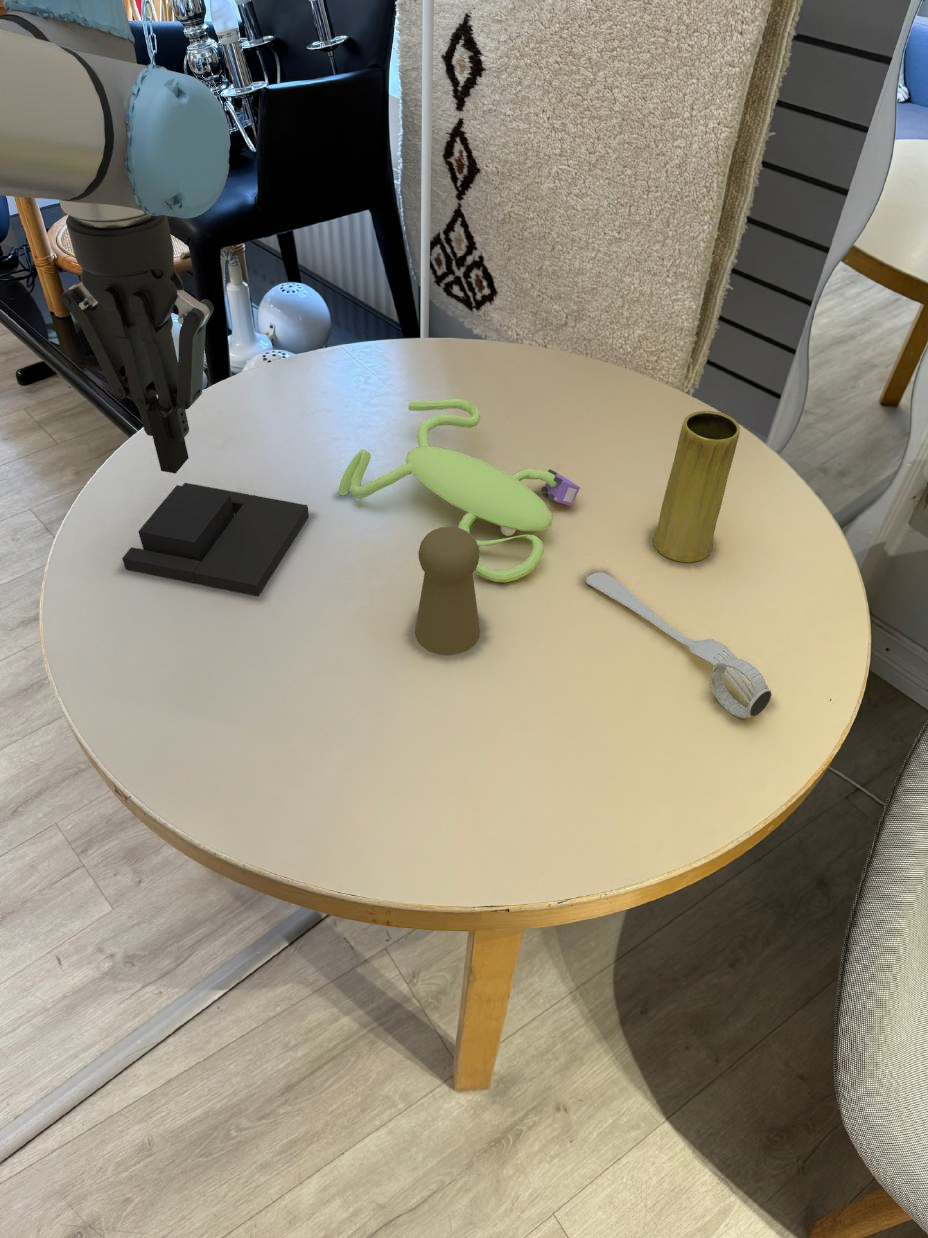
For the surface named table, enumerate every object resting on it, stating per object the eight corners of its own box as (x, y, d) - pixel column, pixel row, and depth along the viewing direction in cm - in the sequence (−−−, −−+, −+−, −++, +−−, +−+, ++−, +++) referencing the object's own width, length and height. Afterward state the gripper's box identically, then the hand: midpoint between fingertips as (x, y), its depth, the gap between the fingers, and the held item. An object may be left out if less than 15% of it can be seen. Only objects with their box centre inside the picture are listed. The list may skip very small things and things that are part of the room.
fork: (599, 589, 92) (600, 567, 90) (770, 698, 79) (776, 674, 77) (579, 601, 90) (580, 579, 89) (750, 713, 77) (755, 689, 76)
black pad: (309, 516, 95) (307, 504, 94) (258, 596, 86) (256, 585, 85) (187, 493, 98) (184, 482, 97) (125, 569, 88) (121, 558, 87)
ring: (742, 732, 76) (758, 693, 72) (699, 695, 79) (711, 655, 75) (765, 717, 77) (781, 677, 74) (721, 681, 80) (735, 641, 77)
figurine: (435, 420, 109) (435, 378, 106) (616, 514, 97) (624, 470, 93) (319, 484, 99) (315, 440, 95) (505, 599, 87) (508, 554, 83)
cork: (452, 599, 87) (454, 507, 79) (493, 635, 83) (500, 542, 76) (401, 627, 84) (398, 534, 76) (442, 664, 81) (443, 571, 73)
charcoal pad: (144, 554, 90) (138, 531, 88) (182, 507, 96) (176, 484, 94) (200, 565, 89) (194, 542, 87) (234, 518, 95) (230, 494, 93)
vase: (713, 532, 95) (747, 413, 85) (709, 568, 91) (743, 448, 81) (656, 521, 96) (682, 402, 86) (648, 556, 92) (675, 436, 82)
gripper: (214, 202, 71) (254, 454, 88) (66, 183, 74) (132, 432, 90) (168, 238, 66) (221, 498, 83) (10, 216, 68) (92, 475, 85)
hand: (175, 464), depth 86 cm, fingers closed
